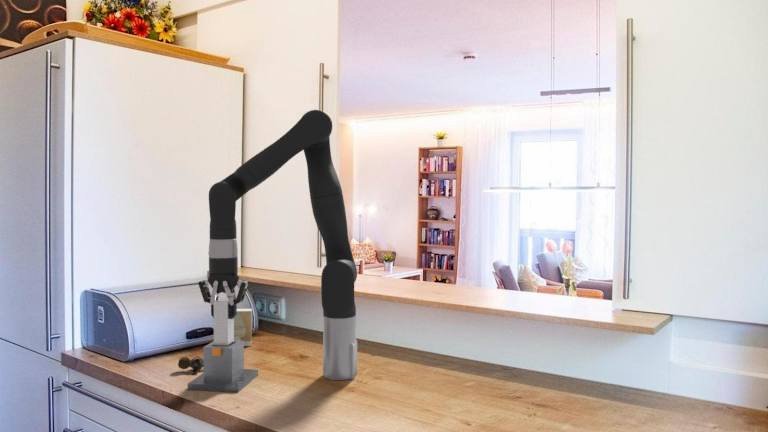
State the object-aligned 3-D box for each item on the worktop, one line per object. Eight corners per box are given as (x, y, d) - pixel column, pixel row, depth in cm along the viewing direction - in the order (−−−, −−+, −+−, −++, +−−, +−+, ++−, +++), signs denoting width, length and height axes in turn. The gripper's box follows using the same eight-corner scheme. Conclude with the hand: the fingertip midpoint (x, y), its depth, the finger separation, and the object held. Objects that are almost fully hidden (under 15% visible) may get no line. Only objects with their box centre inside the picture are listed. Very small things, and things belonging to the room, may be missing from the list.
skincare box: (232, 347, 185) (232, 311, 185) (233, 343, 190) (233, 308, 189) (251, 346, 187) (251, 310, 186) (252, 342, 191) (252, 308, 190)
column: (234, 363, 152) (233, 299, 151) (228, 368, 148) (227, 301, 147) (220, 363, 152) (220, 298, 152) (214, 367, 148) (213, 301, 148)
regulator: (232, 369, 164) (181, 361, 163) (233, 358, 163) (182, 350, 162) (225, 385, 157) (172, 377, 156) (227, 374, 156) (173, 366, 155)
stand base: (258, 375, 156) (257, 338, 156) (238, 392, 142) (238, 351, 142) (211, 372, 158) (211, 336, 158) (187, 389, 144) (187, 349, 144)
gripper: (253, 254, 152) (253, 316, 152) (204, 253, 154) (205, 314, 154) (242, 257, 144) (243, 322, 145) (191, 256, 146) (192, 320, 147)
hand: (223, 317), depth 150 cm, fingers closed on column, 4 cm apart
